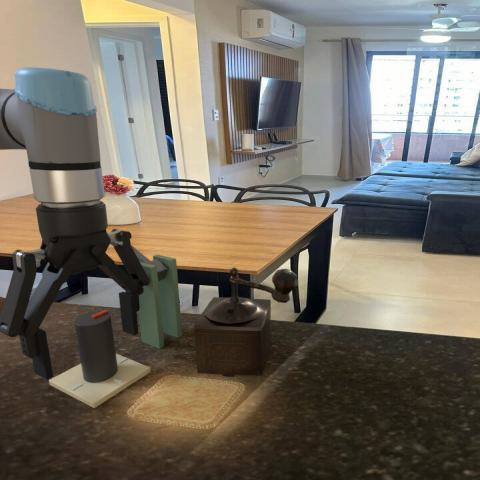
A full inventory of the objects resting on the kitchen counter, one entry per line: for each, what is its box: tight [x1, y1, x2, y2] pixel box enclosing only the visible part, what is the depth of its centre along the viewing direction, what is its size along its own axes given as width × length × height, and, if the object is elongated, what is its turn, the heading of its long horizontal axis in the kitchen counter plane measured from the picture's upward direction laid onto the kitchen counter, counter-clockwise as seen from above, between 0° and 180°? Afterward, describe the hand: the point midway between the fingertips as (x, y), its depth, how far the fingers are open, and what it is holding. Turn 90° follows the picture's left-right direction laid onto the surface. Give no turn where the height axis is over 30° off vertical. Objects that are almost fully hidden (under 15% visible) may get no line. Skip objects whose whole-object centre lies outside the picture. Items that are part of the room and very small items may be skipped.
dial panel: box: [48, 353, 152, 409], centre depth 56 cm, size 10×9×2 cm
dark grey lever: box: [110, 230, 168, 281], centre depth 65 cm, size 12×5×2 cm, turn 61°
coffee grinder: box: [193, 267, 299, 378], centre depth 60 cm, size 16×11×18 cm
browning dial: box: [73, 309, 118, 383], centre depth 55 cm, size 4×4×9 cm
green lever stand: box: [137, 253, 183, 350], centre depth 65 cm, size 10×9×16 cm
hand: (91, 351), depth 54 cm, fingers open, 12 cm apart
